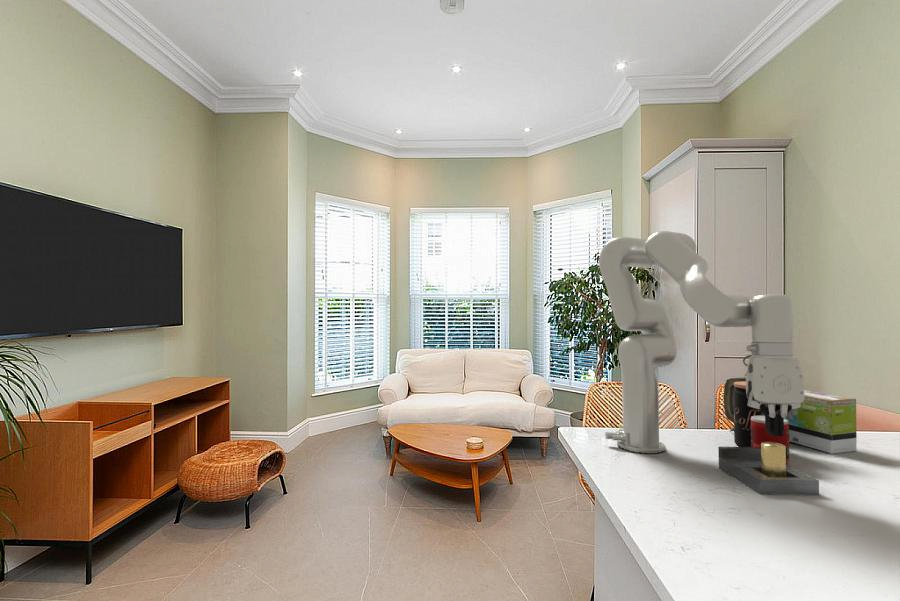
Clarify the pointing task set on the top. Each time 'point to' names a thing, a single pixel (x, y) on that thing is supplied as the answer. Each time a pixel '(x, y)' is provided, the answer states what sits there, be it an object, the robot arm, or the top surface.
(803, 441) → the tea box
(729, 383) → the tabletop clock
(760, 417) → the canned food
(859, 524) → the top surface
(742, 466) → the frame
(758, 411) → the coffee jar
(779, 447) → the pale yellow cylinder
